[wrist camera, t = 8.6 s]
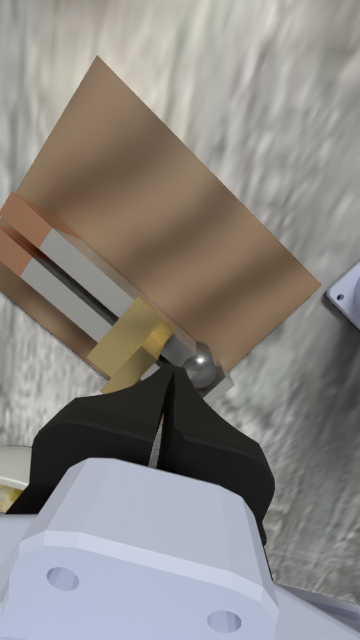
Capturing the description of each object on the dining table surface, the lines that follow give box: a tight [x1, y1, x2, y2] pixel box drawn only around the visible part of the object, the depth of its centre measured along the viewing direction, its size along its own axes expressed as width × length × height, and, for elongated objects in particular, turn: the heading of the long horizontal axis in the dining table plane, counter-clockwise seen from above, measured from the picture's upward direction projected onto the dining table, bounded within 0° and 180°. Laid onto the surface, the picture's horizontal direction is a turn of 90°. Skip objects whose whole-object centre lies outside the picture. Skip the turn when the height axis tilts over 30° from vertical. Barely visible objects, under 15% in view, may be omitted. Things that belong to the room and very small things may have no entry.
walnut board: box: [0, 55, 321, 425], centre depth 15 cm, size 22×18×1 cm
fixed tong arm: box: [0, 225, 234, 406], centre depth 14 cm, size 18×4×3 cm, turn 48°
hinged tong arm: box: [0, 192, 216, 388], centre depth 13 cm, size 17×2×3 cm, turn 48°
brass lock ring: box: [87, 295, 177, 394], centre depth 12 cm, size 3×6×6 cm, turn 138°
